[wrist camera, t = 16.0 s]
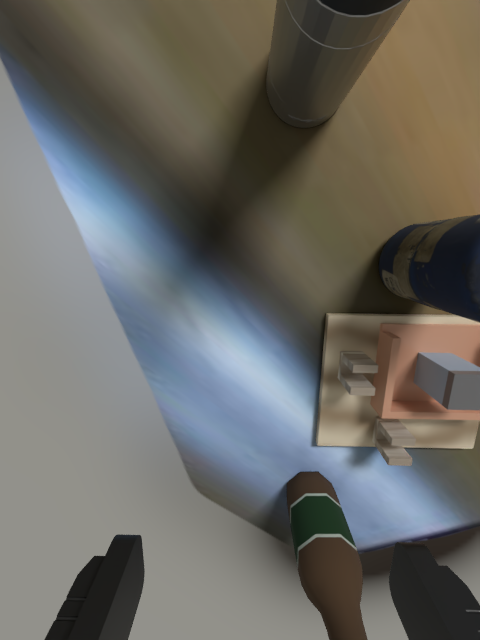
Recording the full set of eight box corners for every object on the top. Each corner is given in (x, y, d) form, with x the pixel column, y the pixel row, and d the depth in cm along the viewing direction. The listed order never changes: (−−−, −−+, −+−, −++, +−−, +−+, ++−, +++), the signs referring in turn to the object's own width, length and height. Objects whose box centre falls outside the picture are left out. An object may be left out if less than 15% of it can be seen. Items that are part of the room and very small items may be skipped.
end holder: (380, 323, 39) (394, 330, 36) (494, 324, 39) (518, 332, 35) (370, 404, 42) (381, 418, 38) (475, 406, 42) (497, 420, 38)
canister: (457, 228, 37) (646, 210, 20) (437, 301, 39) (590, 343, 22) (382, 220, 37) (506, 194, 20) (367, 293, 39) (465, 329, 22)
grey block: (418, 352, 39) (454, 374, 32) (451, 353, 39) (494, 374, 32) (413, 382, 40) (447, 409, 34) (445, 383, 40) (486, 410, 33)
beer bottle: (276, 478, 47) (309, 709, 23) (323, 462, 46) (404, 684, 22) (294, 514, 48) (341, 764, 25) (339, 499, 47) (431, 743, 24)
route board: (326, 313, 40) (340, 324, 34) (495, 315, 40) (540, 327, 34) (315, 440, 45) (326, 470, 39) (467, 443, 45) (501, 473, 38)
